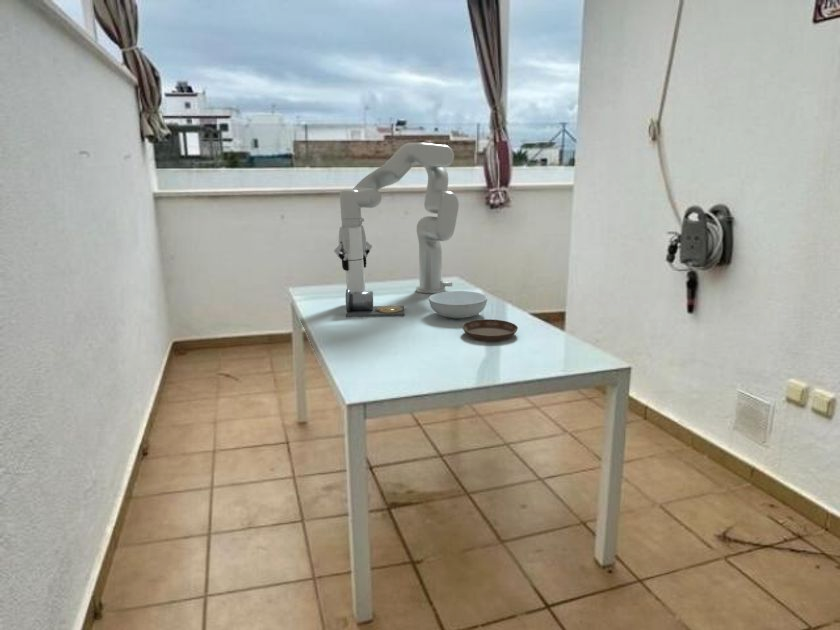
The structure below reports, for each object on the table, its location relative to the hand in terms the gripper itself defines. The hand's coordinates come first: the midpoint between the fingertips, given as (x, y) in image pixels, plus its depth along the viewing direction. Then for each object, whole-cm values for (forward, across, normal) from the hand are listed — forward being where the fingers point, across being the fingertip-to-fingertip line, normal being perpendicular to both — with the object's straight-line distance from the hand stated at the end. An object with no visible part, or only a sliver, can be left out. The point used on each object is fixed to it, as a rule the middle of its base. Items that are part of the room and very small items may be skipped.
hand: (354, 268), depth 229 cm
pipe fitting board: (+14, +2, +17) cm, 22 cm away
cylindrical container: (+9, 0, 0) cm, 9 cm away
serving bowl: (+15, -19, +39) cm, 46 cm away
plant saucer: (+15, -12, +64) cm, 67 cm away
